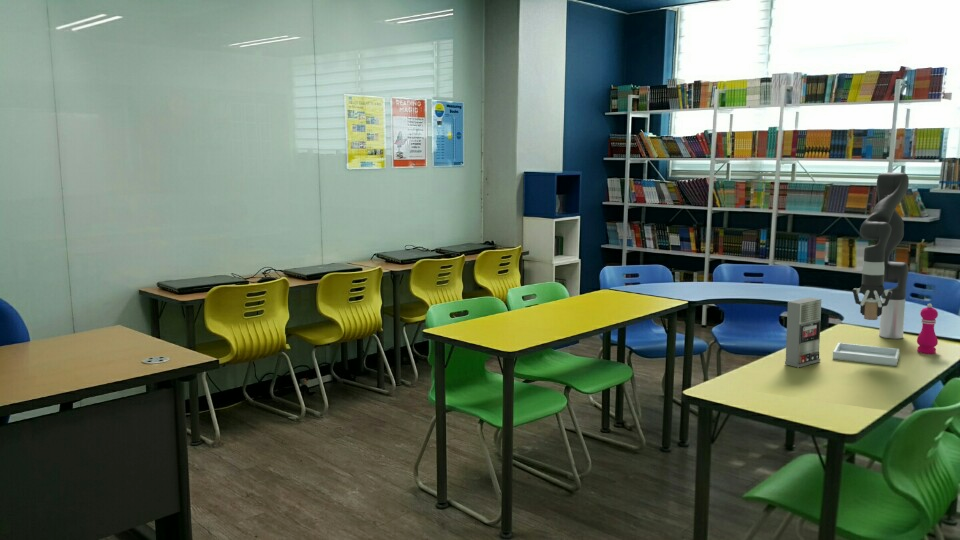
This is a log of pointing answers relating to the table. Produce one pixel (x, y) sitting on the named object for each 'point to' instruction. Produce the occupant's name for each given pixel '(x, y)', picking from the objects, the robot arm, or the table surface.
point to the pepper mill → (928, 331)
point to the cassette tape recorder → (803, 332)
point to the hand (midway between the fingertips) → (870, 315)
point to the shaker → (871, 309)
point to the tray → (866, 354)
